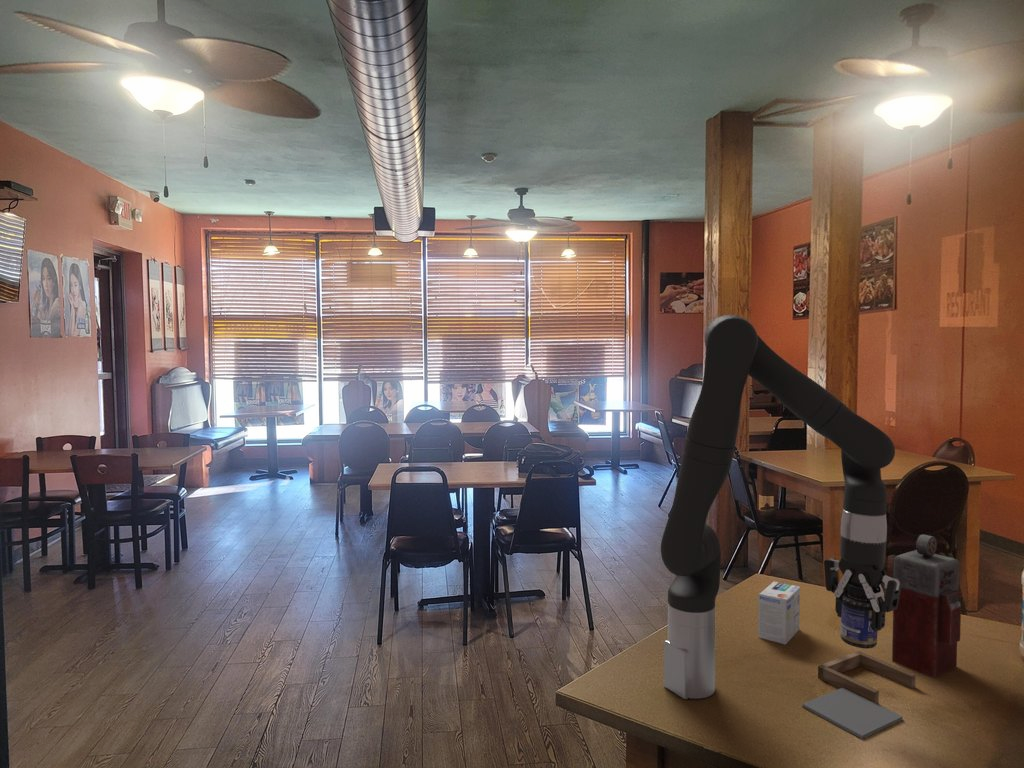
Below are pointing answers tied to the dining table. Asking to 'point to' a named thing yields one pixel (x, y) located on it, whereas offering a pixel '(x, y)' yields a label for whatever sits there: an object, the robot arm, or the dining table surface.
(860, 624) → the pill bottle
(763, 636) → the light bulb box
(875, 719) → the rubber mat
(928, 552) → the red rectangular canister
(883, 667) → the frame
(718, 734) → the dining table surface
